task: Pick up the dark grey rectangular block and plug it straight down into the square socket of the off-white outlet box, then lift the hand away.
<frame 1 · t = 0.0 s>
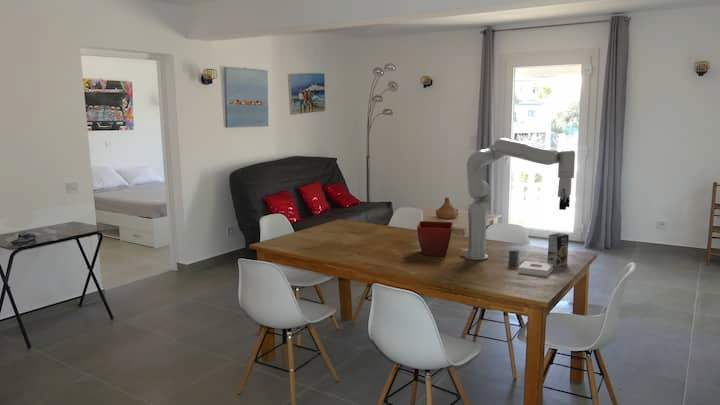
hand: (564, 208, 283), 31 cm above the table, tool pointing down, fingers open, 9 cm apart
plant pot: (434, 253, 319), on the table
dark grey rectangular block: (513, 265, 293), on the table
coffee box: (557, 264, 294), on the table
outlet: (535, 271, 281), on the table
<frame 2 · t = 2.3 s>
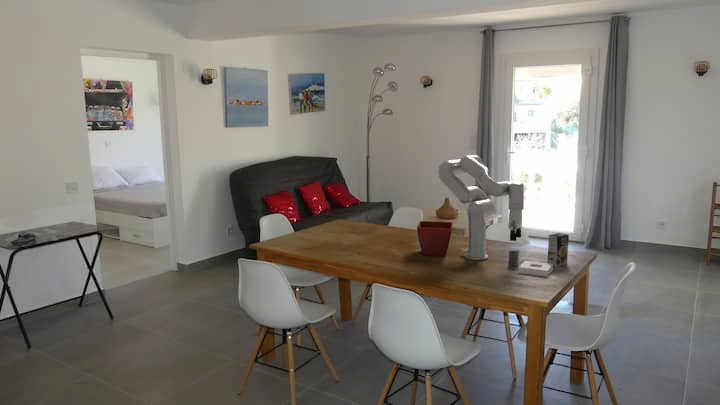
hand: (515, 238, 291), 14 cm above the table, tool pointing down, fingers open, 9 cm apart
nothing on the table moved.
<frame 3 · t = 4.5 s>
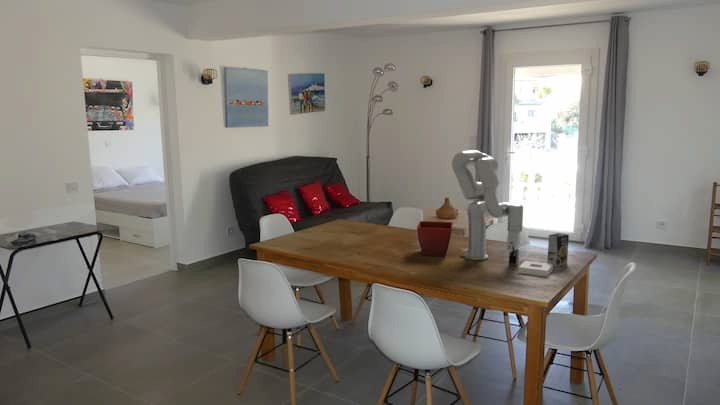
hand: (513, 261, 293), 2 cm above the table, tool pointing down, fingers closed on dark grey rectangular block, 3 cm apart
dark grey rectangular block: (513, 264, 293), on the table, touching gripper
everything else where it was.
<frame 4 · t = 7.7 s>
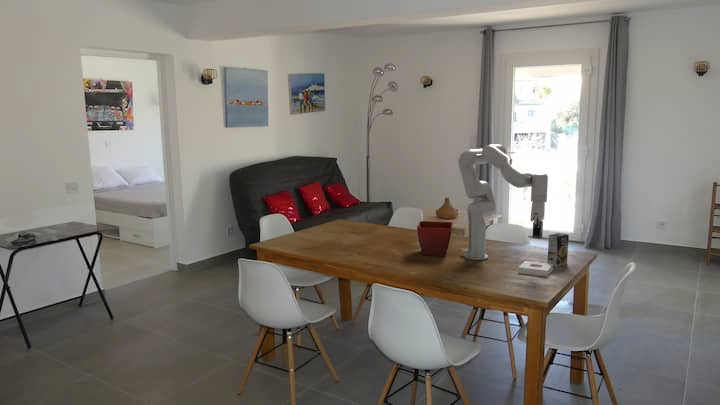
hand: (537, 234, 278), 19 cm above the table, tool pointing down, fingers closed on dark grey rectangular block, 4 cm apart
dark grey rectangular block: (537, 237, 278), point 17 cm above the table, touching gripper
everything else where it was.
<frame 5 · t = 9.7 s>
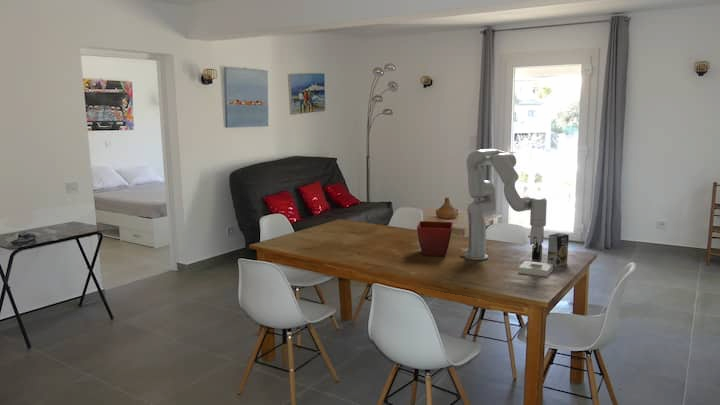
hand: (536, 257, 280), 7 cm above the table, tool pointing down, fingers closed on dark grey rectangular block, 4 cm apart
dark grey rectangular block: (536, 261, 280), point 5 cm above the table, touching gripper
everything else where it was.
when the fingers open (4 cm above the table, at t = 11.2 s): dark grey rectangular block drops 1 cm, resting on outlet.
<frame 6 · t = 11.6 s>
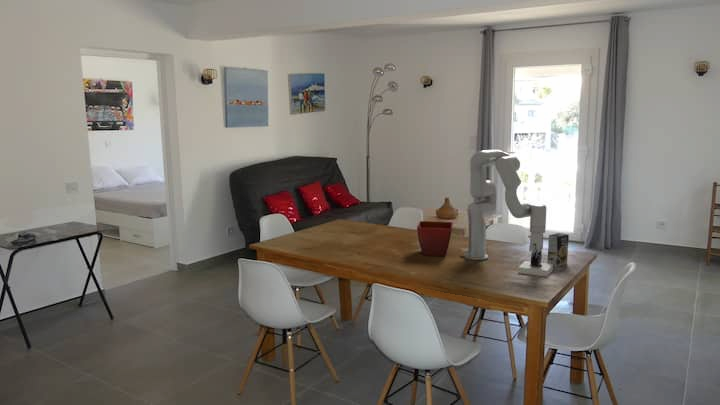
hand: (536, 262, 280), 4 cm above the table, tool pointing down, fingers open, 8 cm apart
dark grey rectangular block: (535, 270, 281), point 1 cm above the table, touching outlet
everything else where it was.
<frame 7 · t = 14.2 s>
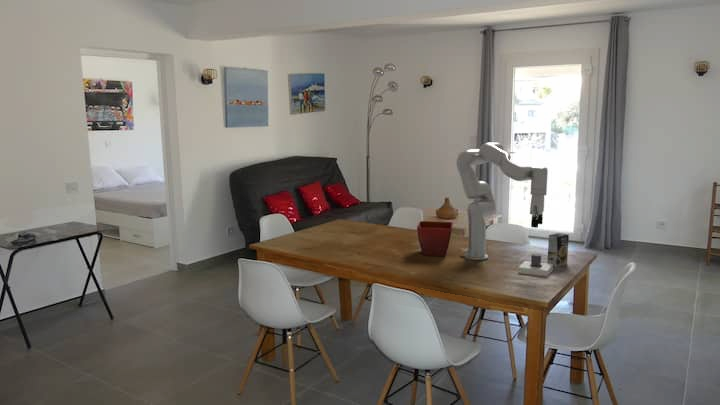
hand: (536, 225, 278), 23 cm above the table, tool pointing down, fingers open, 9 cm apart
nothing on the table moved.
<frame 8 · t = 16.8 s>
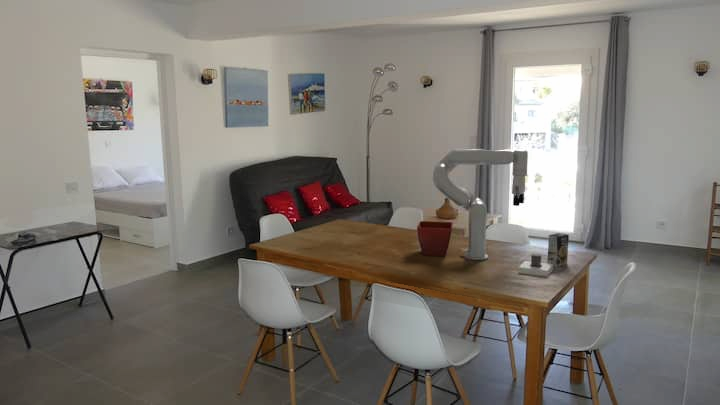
hand: (518, 204, 302), 30 cm above the table, tool pointing down, fingers open, 9 cm apart
nothing on the table moved.
at the end: dark grey rectangular block 0.1 cm off-centre on the outlet, point 0.6 cm above the outlet's base; dark grey rectangular block tilted 0°; the gripper is holding nothing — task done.
